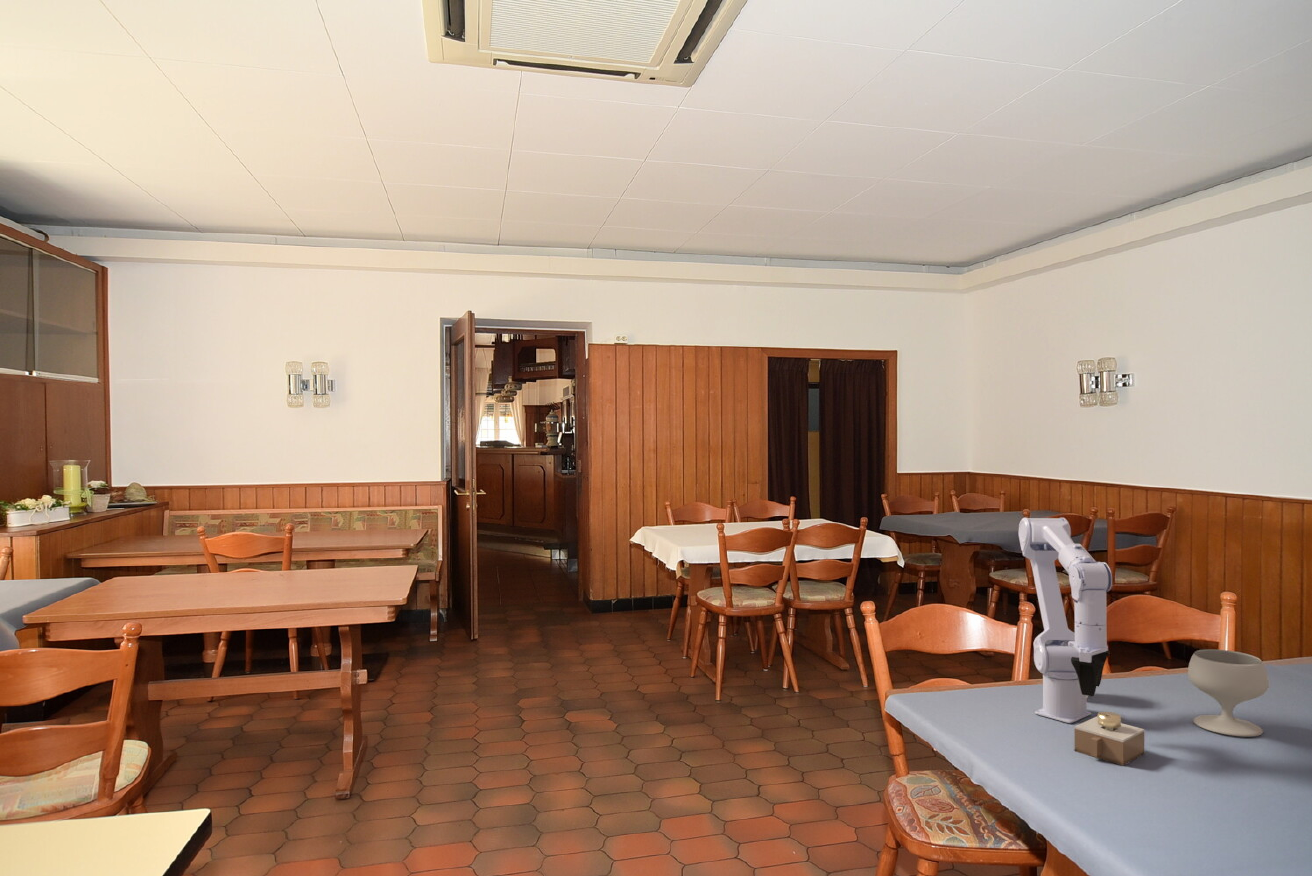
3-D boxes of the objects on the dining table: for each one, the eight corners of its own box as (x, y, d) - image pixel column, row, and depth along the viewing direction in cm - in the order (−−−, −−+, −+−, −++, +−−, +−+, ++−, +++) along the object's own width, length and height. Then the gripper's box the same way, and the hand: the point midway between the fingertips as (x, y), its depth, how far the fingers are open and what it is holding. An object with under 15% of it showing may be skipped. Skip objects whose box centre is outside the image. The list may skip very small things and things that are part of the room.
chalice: (1272, 745, 163) (1272, 669, 162) (1188, 732, 170) (1188, 659, 170) (1265, 723, 174) (1265, 653, 174) (1187, 712, 182) (1187, 644, 182)
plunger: (1103, 742, 162) (1103, 710, 162) (1124, 748, 159) (1124, 715, 159) (1093, 747, 160) (1093, 714, 160) (1115, 753, 157) (1115, 720, 157)
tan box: (1096, 740, 166) (1096, 716, 166) (1144, 754, 159) (1144, 729, 159) (1070, 753, 159) (1069, 728, 159) (1118, 768, 152) (1118, 742, 152)
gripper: (1074, 613, 173) (1074, 678, 173) (1062, 627, 161) (1062, 696, 161) (1112, 617, 169) (1112, 683, 169) (1102, 631, 157) (1103, 702, 157)
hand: (1090, 690), depth 165 cm, fingers open, 7 cm apart
